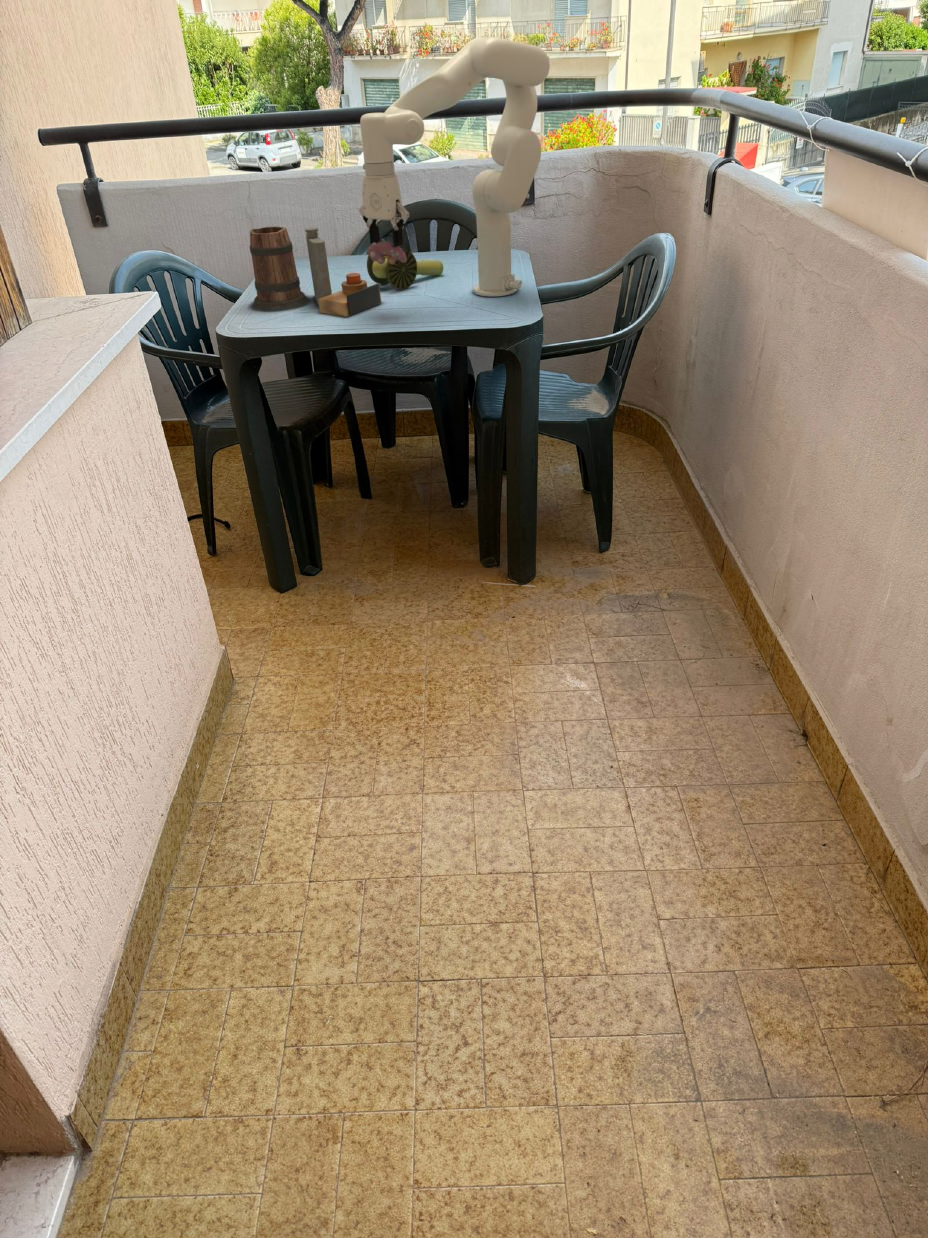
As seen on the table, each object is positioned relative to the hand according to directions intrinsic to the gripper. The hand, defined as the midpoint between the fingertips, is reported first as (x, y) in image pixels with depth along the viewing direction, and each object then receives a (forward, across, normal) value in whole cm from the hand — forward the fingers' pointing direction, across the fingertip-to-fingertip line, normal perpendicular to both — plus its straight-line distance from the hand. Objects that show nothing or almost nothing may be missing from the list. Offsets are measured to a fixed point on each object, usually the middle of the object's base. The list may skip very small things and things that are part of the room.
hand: (386, 243), depth 223 cm
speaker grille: (+18, -8, -3) cm, 19 cm away
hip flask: (+18, -25, -2) cm, 31 cm away
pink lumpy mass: (+5, 0, 0) cm, 5 cm away
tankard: (+18, -38, -6) cm, 42 cm away
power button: (+12, -14, +1) cm, 19 cm away
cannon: (+18, -16, +26) cm, 35 cm away
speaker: (+18, -13, -3) cm, 22 cm away
